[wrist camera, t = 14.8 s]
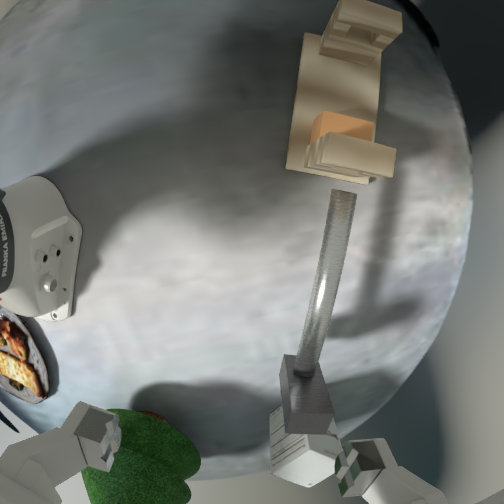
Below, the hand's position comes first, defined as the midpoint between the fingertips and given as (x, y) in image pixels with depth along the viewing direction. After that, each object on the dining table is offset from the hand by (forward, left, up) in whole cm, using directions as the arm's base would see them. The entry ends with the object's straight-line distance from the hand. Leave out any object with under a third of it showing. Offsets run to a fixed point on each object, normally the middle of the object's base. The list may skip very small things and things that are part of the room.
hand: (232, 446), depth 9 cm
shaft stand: (+20, -8, -29) cm, 36 cm away
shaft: (-2, -8, -23) cm, 24 cm away
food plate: (-27, +44, -30) cm, 60 cm away
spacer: (+15, -8, -28) cm, 32 cm away
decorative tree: (-33, +12, -29) cm, 46 cm away
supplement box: (-24, -12, -29) cm, 40 cm away
